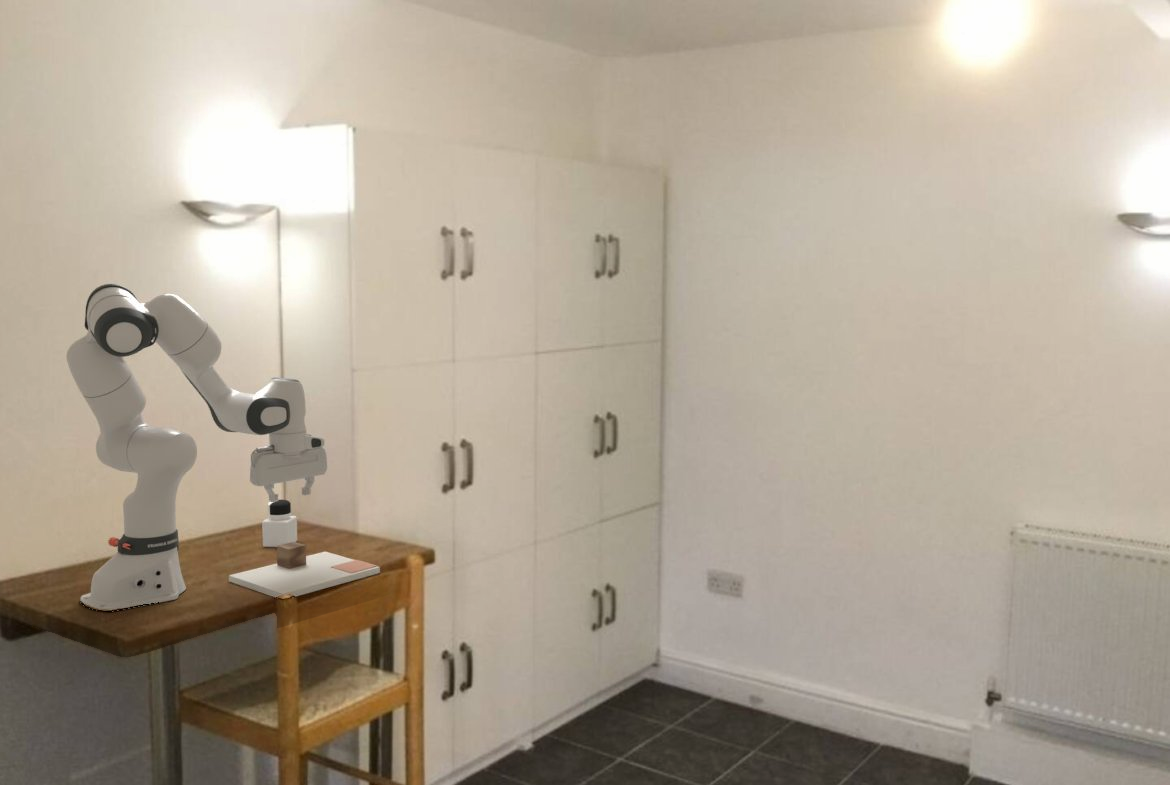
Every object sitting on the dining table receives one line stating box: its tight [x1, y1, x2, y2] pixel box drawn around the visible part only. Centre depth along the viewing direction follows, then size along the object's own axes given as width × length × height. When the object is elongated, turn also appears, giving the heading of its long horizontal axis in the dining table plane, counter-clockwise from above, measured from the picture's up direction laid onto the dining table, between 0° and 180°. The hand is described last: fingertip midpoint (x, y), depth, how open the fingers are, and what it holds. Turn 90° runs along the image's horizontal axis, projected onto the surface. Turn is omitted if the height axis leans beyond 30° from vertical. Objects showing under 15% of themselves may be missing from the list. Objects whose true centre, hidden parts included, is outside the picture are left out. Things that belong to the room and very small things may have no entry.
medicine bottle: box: [261, 499, 298, 548], centre depth 290 cm, size 7×7×12 cm
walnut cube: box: [276, 541, 307, 569], centre depth 265 cm, size 5×5×5 cm
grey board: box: [228, 551, 381, 599], centre depth 260 cm, size 28×22×2 cm
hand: (290, 498), depth 263 cm, fingers open, 8 cm apart
